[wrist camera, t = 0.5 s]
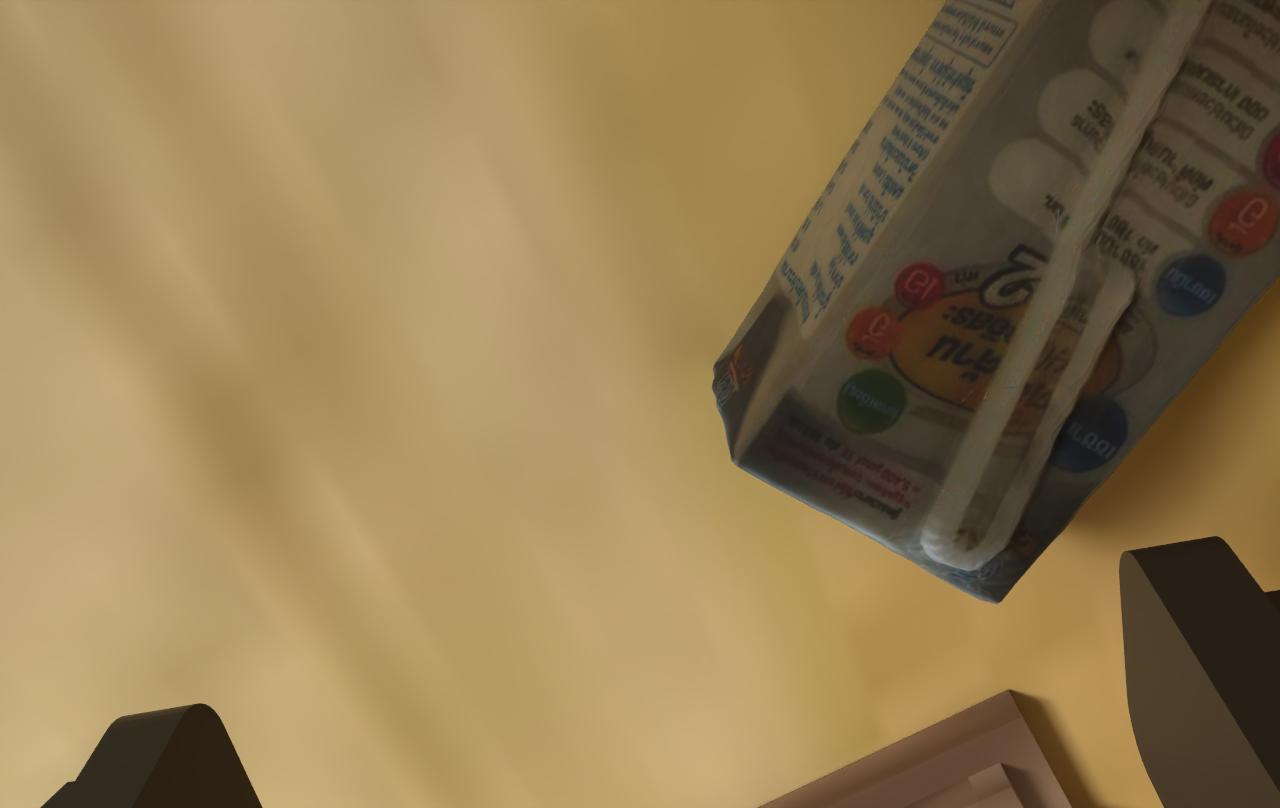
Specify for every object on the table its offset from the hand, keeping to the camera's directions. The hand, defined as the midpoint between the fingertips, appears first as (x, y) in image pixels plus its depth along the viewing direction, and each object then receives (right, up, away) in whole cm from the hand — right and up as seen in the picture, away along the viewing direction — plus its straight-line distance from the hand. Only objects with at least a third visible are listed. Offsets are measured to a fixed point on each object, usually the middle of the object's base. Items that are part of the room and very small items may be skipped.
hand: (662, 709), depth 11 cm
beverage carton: (+9, +9, +19) cm, 23 cm away
